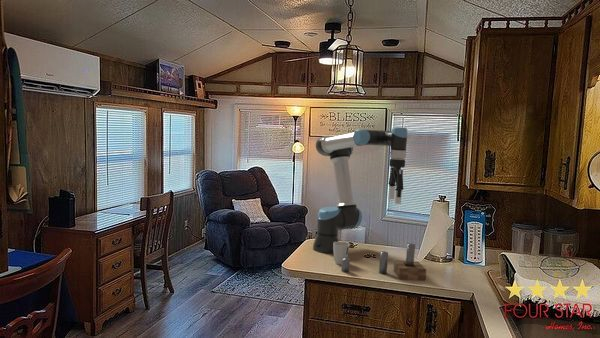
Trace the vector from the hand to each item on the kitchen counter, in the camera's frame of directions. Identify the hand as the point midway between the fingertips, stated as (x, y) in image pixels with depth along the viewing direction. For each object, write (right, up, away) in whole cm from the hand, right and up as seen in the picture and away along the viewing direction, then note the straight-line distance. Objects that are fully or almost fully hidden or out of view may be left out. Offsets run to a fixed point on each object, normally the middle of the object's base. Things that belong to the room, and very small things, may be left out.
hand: (394, 201), depth 215 cm
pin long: (+4, -34, -11) cm, 36 cm away
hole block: (+4, -34, -11) cm, 36 cm away
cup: (-27, -31, +2) cm, 41 cm away
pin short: (-26, -32, -10) cm, 42 cm away
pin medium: (-8, -33, -9) cm, 35 cm away
